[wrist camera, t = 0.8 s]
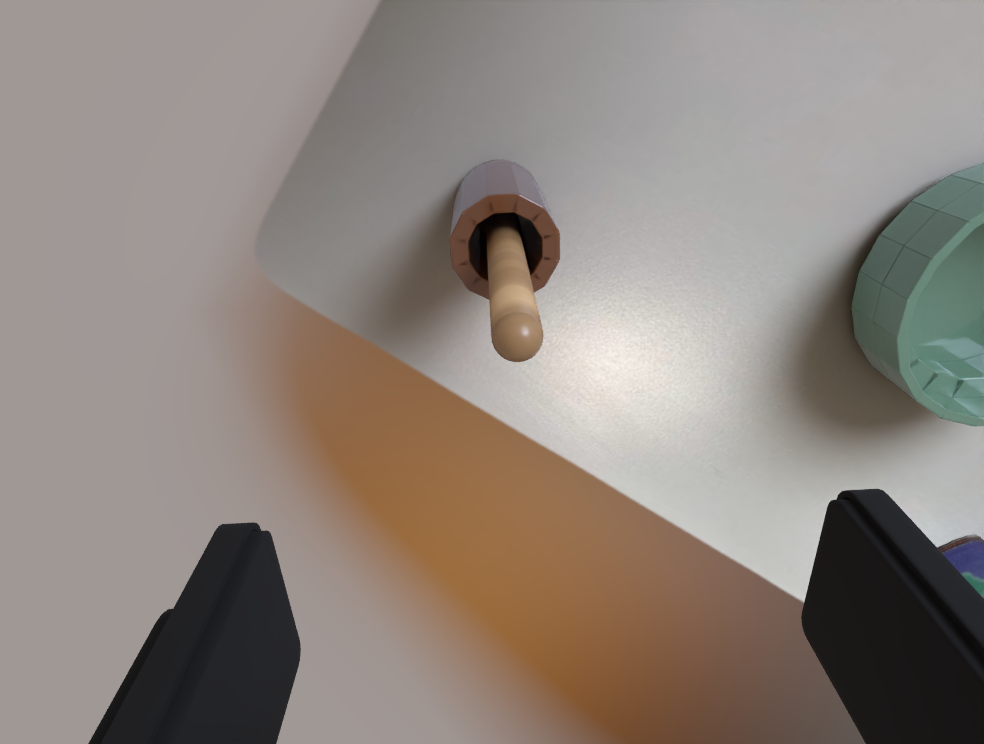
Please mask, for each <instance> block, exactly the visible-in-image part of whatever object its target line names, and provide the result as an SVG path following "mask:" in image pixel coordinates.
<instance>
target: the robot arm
mask: <svg viewBox="0 0 984 744" xmlns="http://www.w3.org/2000/svg"><path fill="white" fill-rule="evenodd" d="M802 626H803V629H804V633H805V636H806V638H807V640H808V641H809V643H810V645H811V647H812V648H813V650H814V652H815V653H816V656H817V657H818V659H819V661H820V663H821V665H822V666H823V668H824V670H825V672H826V673H827V675H828V677H829V679H830V681H831V682H832V684H833V686H834V688H835V689H836V691H837V693H838V695H839V697H840V698H841V700H842V702H843V704H844V705H845V707H846V709H847V711H848V713H849V714H850V716H851V718H852V720H853V722H854V723H855V725H856V727H857V728H858V730H859V732H860V734H861V736H862V737H863V739H864V741H865V743H866V744H984V598H983V597H982V596H981V595H980V594H979V593H978V592H977V591H976V590H975V588H974V587H973V586H972V585H971V584H970V583H969V582H968V581H967V580H966V579H965V578H964V577H963V576H962V574H961V573H960V572H959V571H958V570H957V569H956V568H955V567H954V566H953V565H952V564H951V563H950V561H949V560H948V559H947V558H946V557H945V556H944V555H943V554H942V553H941V552H940V551H939V550H938V548H937V547H936V546H935V545H934V544H933V543H932V542H931V541H930V540H929V539H928V538H927V537H926V535H925V534H924V533H923V532H922V531H921V530H920V529H919V528H918V527H917V526H916V525H915V524H914V522H913V521H912V520H911V519H910V518H909V517H908V516H907V515H906V514H905V513H904V512H903V511H902V509H901V508H900V507H899V506H898V505H897V504H896V503H895V502H894V501H893V500H892V499H891V498H890V496H889V495H888V494H886V493H885V492H884V491H883V490H880V489H865V490H846V491H842V492H841V493H840V494H839V495H838V497H837V500H832V501H831V502H830V503H829V505H828V507H827V511H826V515H825V519H824V524H823V528H822V532H821V536H820V540H819V544H818V548H817V553H816V557H815V561H814V565H813V569H812V573H811V577H810V582H809V586H808V590H807V594H806V598H805V602H804V606H803V611H802ZM300 649H301V648H300V640H299V636H298V632H297V629H296V625H295V621H294V617H293V614H292V610H291V606H290V602H289V599H288V595H287V591H286V588H285V584H284V580H283V577H282V573H281V569H280V565H279V562H278V558H277V554H276V551H275V547H274V543H273V539H272V536H271V533H270V532H269V531H261V529H260V526H259V525H258V524H257V523H237V524H222V525H220V526H219V527H218V528H217V529H216V531H215V532H214V534H213V536H212V538H211V540H210V542H209V544H208V545H207V548H206V549H205V551H204V553H203V555H202V557H201V559H200V560H199V562H198V564H197V566H196V568H195V570H194V571H193V573H192V575H191V577H190V579H189V581H188V583H187V584H186V586H185V588H184V590H183V592H182V594H181V596H180V597H179V599H178V601H177V603H176V605H175V607H174V609H169V610H167V611H166V612H164V613H163V614H162V615H161V616H160V618H159V619H158V620H157V622H156V623H155V625H154V627H153V629H152V630H151V632H150V634H149V636H148V638H147V640H146V641H145V643H144V645H143V647H142V649H141V650H140V652H139V654H138V656H137V657H136V659H135V661H134V663H133V665H132V667H131V668H130V670H129V672H128V674H127V675H126V677H125V679H124V681H123V683H122V685H121V686H120V688H119V690H118V692H117V693H116V695H115V697H114V699H113V701H112V702H111V704H110V706H109V708H108V709H107V711H106V713H105V715H104V717H103V719H102V720H101V722H100V724H99V726H98V727H97V729H96V731H95V733H94V735H93V737H92V738H91V740H90V742H89V744H276V742H277V739H278V735H279V732H280V729H281V725H282V721H283V718H284V715H285V711H286V708H287V704H288V701H289V697H290V694H291V690H292V687H293V683H294V680H295V676H296V673H297V669H298V666H299V661H300Z"/></svg>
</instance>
